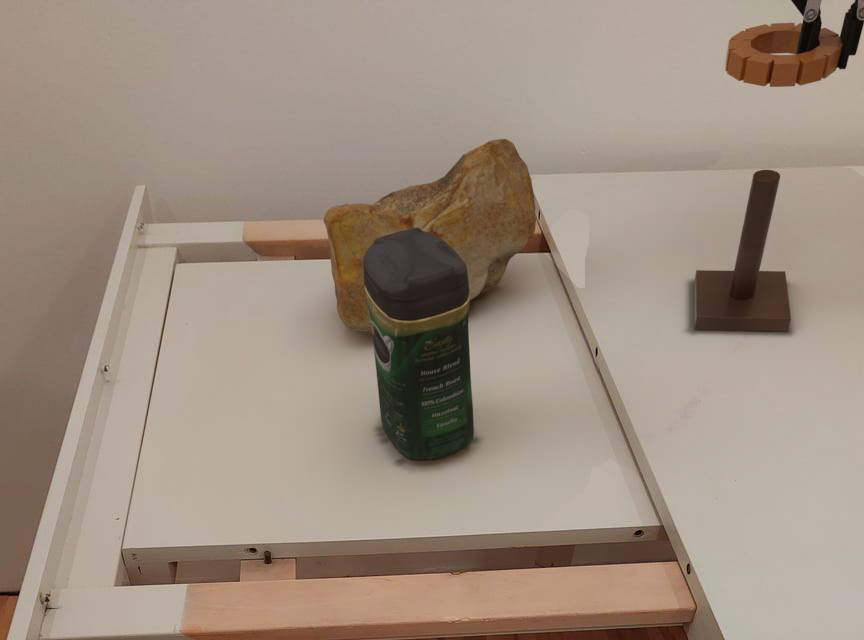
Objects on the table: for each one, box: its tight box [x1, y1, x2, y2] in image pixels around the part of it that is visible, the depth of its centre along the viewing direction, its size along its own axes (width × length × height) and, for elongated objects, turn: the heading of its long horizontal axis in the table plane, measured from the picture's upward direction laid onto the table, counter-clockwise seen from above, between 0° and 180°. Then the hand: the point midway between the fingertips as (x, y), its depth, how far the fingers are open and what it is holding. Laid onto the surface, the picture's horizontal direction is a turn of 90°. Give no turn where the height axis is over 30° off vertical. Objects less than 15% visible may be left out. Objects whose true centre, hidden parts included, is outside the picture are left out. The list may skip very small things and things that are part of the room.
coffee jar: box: [363, 228, 475, 462], centre depth 82 cm, size 10×8×19 cm
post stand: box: [693, 169, 792, 333], centre depth 92 cm, size 9×9×14 cm
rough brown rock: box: [323, 138, 537, 335], centre depth 100 cm, size 23×17×15 cm
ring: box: [724, 22, 842, 88], centre depth 88 cm, size 10×10×2 cm
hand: (823, 62), depth 88 cm, fingers closed on ring, 2 cm apart
